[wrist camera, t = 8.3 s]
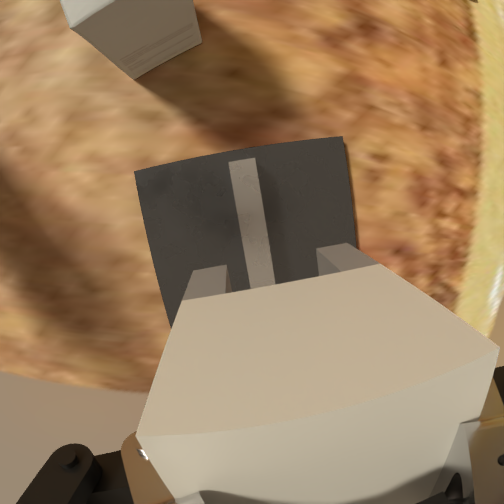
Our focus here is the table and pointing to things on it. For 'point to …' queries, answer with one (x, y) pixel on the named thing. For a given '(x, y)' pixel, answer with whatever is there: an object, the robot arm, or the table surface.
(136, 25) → the supplement box
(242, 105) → the table surface
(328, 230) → the rail board
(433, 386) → the block
